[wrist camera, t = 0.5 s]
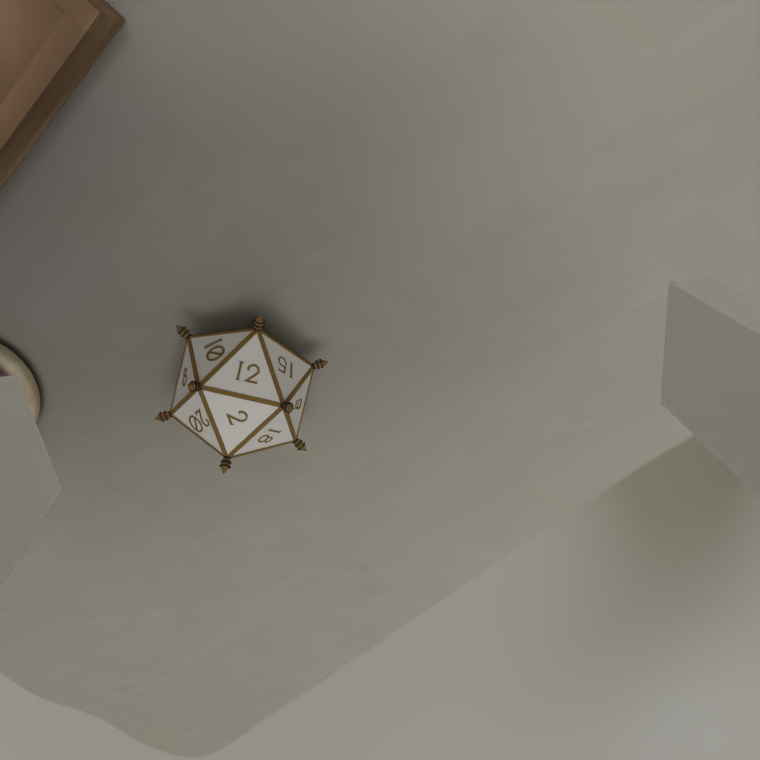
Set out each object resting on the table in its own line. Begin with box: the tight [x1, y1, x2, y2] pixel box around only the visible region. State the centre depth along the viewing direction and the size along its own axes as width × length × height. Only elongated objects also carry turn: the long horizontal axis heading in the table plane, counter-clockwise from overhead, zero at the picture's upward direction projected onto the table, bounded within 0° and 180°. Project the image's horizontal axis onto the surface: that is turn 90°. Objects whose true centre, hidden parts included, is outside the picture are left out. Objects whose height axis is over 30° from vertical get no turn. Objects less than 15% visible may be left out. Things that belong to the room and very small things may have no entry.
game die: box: [155, 315, 328, 474], centre depth 37 cm, size 9×8×10 cm
